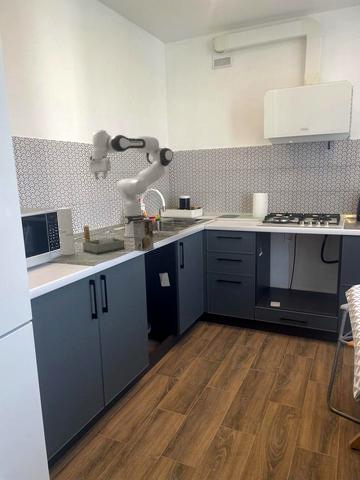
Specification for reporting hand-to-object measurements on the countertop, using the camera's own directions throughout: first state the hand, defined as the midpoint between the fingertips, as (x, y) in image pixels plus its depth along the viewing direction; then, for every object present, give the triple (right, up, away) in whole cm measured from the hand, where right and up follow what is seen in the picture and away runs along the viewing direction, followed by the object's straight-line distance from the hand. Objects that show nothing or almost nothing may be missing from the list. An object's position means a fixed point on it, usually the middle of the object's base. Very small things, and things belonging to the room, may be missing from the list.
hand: (100, 179), depth 225 cm
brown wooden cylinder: (-4, -43, -15) cm, 46 cm away
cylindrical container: (-11, -46, -27) cm, 55 cm away
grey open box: (+7, -44, -21) cm, 49 cm away
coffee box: (+30, -43, -23) cm, 57 cm away
